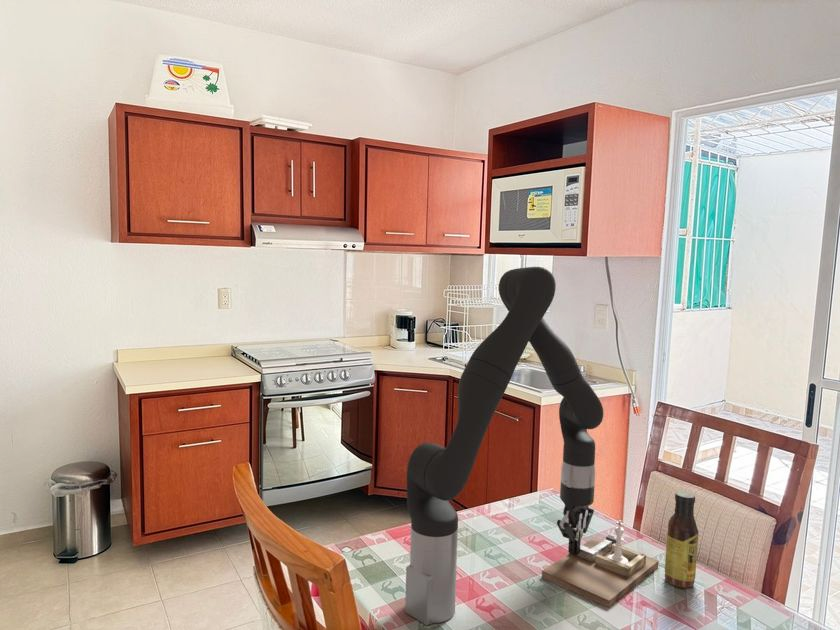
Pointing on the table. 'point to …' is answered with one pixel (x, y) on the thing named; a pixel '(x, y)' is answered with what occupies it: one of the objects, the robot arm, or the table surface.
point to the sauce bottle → (682, 543)
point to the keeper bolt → (594, 550)
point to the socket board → (601, 573)
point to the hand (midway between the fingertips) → (573, 553)
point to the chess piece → (618, 545)
